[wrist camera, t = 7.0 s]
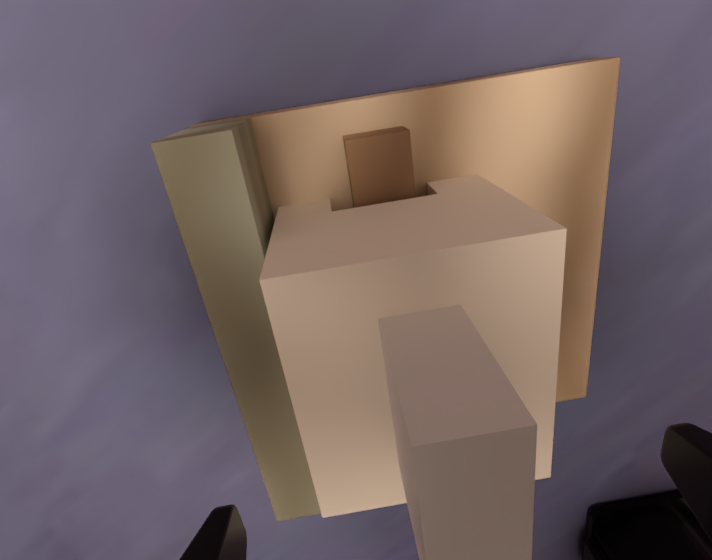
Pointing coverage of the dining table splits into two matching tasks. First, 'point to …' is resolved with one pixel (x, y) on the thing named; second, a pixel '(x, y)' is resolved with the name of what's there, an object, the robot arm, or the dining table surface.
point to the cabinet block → (424, 358)
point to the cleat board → (380, 185)
